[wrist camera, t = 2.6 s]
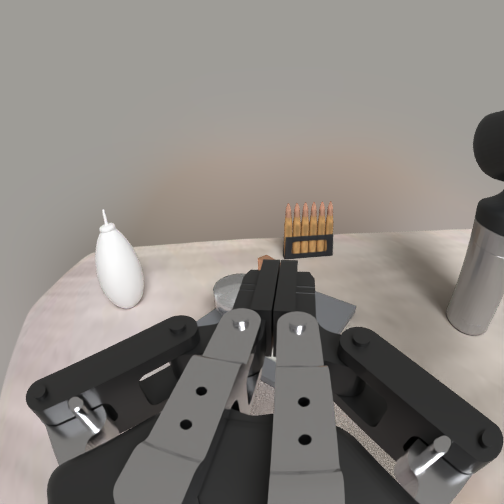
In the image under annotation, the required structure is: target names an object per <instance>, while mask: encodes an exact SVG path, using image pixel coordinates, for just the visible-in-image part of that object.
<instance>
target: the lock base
mask: <svg viewBox="0 0 504 504" xmlns="http://www.w3.org/2000/svg"><path fill="white" fill-rule="evenodd" d="M315 301H316V319H317V322H318V323H319V325H320V326H321V327H323V328H324V329H326V330H328V331H330V332H333V333H337V334H340V333H341V332H342V330H343V329H344V327H345V326H346V324H347V323H348V322H349V320H350V319H351V317H352V316H353V314H354V313H355V310H356V306H355V305H352V304H349V303H346V302H344V301H341V300H338V299H335V298H333V297H330V296H327V295H324V294H322V293H319V292H316V291H315ZM222 316H223V315H221V314H220V313H219V312H218V311H217V309H216V308H215V309H214V310H213V311H211V312H210V313H208V314H207V315H205V316H204V317H202V318H201V319H200V320H198V321H197V325H198V326H205V325H212V324H216V323H219V322H220V320H221V318H222ZM275 371H276V357H273V349H272V355H271V357H266V356H265V359H264V364H263V367H262V375H261V378H260V380H262V381H263V382H265V383H267V384H268V385H270V386H272V387H274V388H275Z"/></svg>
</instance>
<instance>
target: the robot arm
mask: <svg viewBox="0 0 504 504" xmlns="http://www.w3.org/2000/svg"><path fill="white" fill-rule="evenodd" d="M473 149H474V155H475V158H476V161H477V163H478V165H479V167H480V168H481V170H482V171H483V172H484V173H485V174H487V175H488V176H490V177H492V178H494V179H497V180H501V181H504V111H500V112H495V113H492V114H489V115H487V116H485V117H484V118H483V119H482V121H481V122H480V123H479V125H478V127H477V129H476V132H475V135H474V141H473ZM297 265H298V260H281V265H280V260H271V259H263V262H262V266H261V270H250V271H249V272H248V273H247V274H245V275H244V277H243V280H242V283H241V286H240V289H239V291H238V294H237V297H236V300H235V303H234V306H233V308H232V310H230V311H228V312H227V313H225V314H224V315H223V316H222V318H221V320H220V322H219V323H216V324H212V325H205V326H198V325H197V322H196V321H195V320H194V319H193V318H191V317H189V316H183V315H180V316H174V317H171V318H168V319H166V320H164V321H162V322H160V323H158V324H156V325H154V326H152V327H150V328H148V329H146V330H144V331H142V332H140V333H138V334H136V335H134V336H132V337H129V338H127V339H125V340H123V341H121V342H119V343H117V344H115V345H113V346H111V347H109V348H107V349H104V350H102V351H100V352H98V353H96V354H94V355H92V356H90V357H88V358H85V359H83V360H81V361H79V362H77V363H75V364H73V365H70V366H68V367H66V368H64V369H62V370H60V371H57V372H55V373H53V374H51V375H49V376H46V377H44V378H42V379H40V380H38V381H36V382H34V383H33V384H32V385H31V386H30V388H29V389H28V391H27V394H26V402H27V405H28V406H29V407H30V409H31V410H32V411H33V412H34V413H35V414H36V415H37V416H38V417H39V418H40V420H41V421H42V422H43V423H44V424H45V426H46V429H47V432H48V435H49V438H50V441H51V444H52V447H53V450H54V453H55V456H56V459H57V461H58V464H59V466H58V467H57V468H56V469H55V470H54V472H53V473H52V475H51V477H50V479H49V482H48V487H47V497H48V504H450V503H451V502H452V501H453V499H454V498H455V497H456V496H457V494H458V493H459V492H460V490H461V489H462V488H463V486H464V485H465V484H466V482H467V481H468V480H469V478H470V477H471V475H473V474H474V473H476V472H477V471H478V470H480V469H481V468H483V467H484V466H485V465H487V464H488V463H490V462H491V461H492V460H494V459H495V458H496V457H497V456H498V455H499V453H500V452H501V449H502V446H503V435H502V432H501V430H500V428H499V427H498V426H497V425H496V424H495V423H493V422H492V421H491V420H490V419H488V418H487V417H486V416H484V415H483V414H482V413H480V412H479V411H478V410H477V409H475V408H474V407H473V406H471V405H470V404H469V403H467V402H466V401H465V400H464V399H462V398H461V397H460V396H458V395H457V394H456V393H454V392H453V391H452V390H450V389H449V388H448V387H447V386H445V385H444V384H443V383H441V382H440V381H439V380H437V379H436V378H435V377H433V376H432V375H431V374H429V373H428V372H427V371H425V370H424V369H423V368H422V367H420V366H419V365H418V364H416V363H415V362H414V361H412V360H411V359H410V358H408V357H407V356H406V355H404V354H403V353H402V352H400V351H399V350H398V349H396V348H395V347H394V346H392V345H391V344H390V343H388V342H387V341H386V340H384V339H383V338H382V337H380V336H379V335H378V334H376V333H375V332H373V331H372V330H370V329H367V328H363V327H353V328H349V329H347V330H346V331H344V332H343V333H342V335H340V334H337V333H333V332H330V331H328V330H326V329H324V328H323V327H321V326H320V325H319V323H318V322H317V319H316V301H315V280H314V278H313V276H312V275H311V274H310V272H297ZM503 294H504V190H503V191H502V192H501V193H499V194H498V195H495V196H492V197H489V198H484V199H482V200H480V201H479V203H478V206H477V210H476V215H475V220H474V224H473V229H472V233H471V237H470V241H469V245H468V249H467V252H466V256H465V259H464V262H463V266H462V269H461V272H460V275H459V278H458V281H457V284H456V287H455V290H454V292H453V295H452V298H451V300H450V303H449V305H448V308H447V317H448V319H449V321H450V322H451V324H452V325H453V326H454V327H456V328H457V329H458V330H460V331H461V332H463V333H466V334H469V335H481V334H483V333H484V332H486V330H487V328H488V326H489V324H490V322H491V320H492V318H493V316H494V314H495V312H496V310H497V308H498V306H499V304H500V301H501V299H502V297H503ZM272 349H273V357H276V371H275V395H274V414H267V415H259V416H251V415H250V413H251V409H252V405H253V402H254V399H255V395H256V392H257V389H258V385H259V382H260V378H261V375H262V367H263V364H264V359H265V356H266V357H271V355H272ZM168 362H169V363H170V366H168V367H167V368H165V369H163V370H161V371H159V372H157V373H156V374H154V375H152V376H150V377H148V378H146V379H144V380H142V381H139V380H140V379H141V378H142V377H143V376H144V375H146V374H147V373H149V372H151V371H153V370H155V369H157V368H159V367H161V366H162V365H164V364H166V363H168ZM333 401H334V402H335V403H336V404H337V405H338V406H339V407H340V408H341V409H342V410H343V411H344V412H345V413H346V414H347V415H348V416H349V417H350V418H351V419H352V420H353V421H354V422H355V423H356V424H357V425H358V426H359V427H360V428H361V429H362V430H363V431H364V432H365V433H366V434H367V435H368V436H369V437H370V438H371V439H373V440H374V441H375V442H376V443H377V444H378V445H379V446H380V447H381V448H382V449H383V450H384V451H385V452H386V453H387V454H389V455H390V456H391V457H392V458H393V459H394V460H395V461H396V464H395V467H394V474H395V477H396V479H397V481H398V482H399V483H400V484H399V483H398V482H397V481H396V480H395V479H394V478H393V477H392V476H391V475H390V474H389V473H388V472H387V471H386V470H385V469H384V468H383V467H382V466H381V465H380V464H379V463H378V462H377V461H376V460H375V459H374V458H373V456H372V455H371V454H370V453H369V452H368V451H367V450H366V449H365V448H364V447H363V446H362V445H361V444H360V443H359V442H358V441H357V440H356V439H355V438H354V437H353V436H352V435H351V434H349V433H348V432H346V431H345V430H343V429H341V428H339V427H337V426H336V423H335V413H334V404H333ZM132 427H133V428H132ZM130 428H131V429H130ZM128 429H129V430H128ZM126 430H127V431H126ZM124 431H125V432H124ZM122 432H124V433H122ZM120 433H122V434H120ZM119 434H120V435H119Z"/></svg>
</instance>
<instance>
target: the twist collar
mask: <svg viewBox="0 0 504 504" xmlns="http://www.w3.org/2000/svg"><path fill="white" fill-rule="evenodd" d="M263 259H271V260H275V259H273V258H271V257H270V256H268V255H265V256H262V257H260V258H258V270H261V266H262V262H263ZM280 265H281V263H280ZM244 275H245V274H233V275H229V276H226V277H224V278H222V279H220V280H219V281H217V282H216V284H215V285H214V288H213V291H214V298H215V305H216V309H217V311H218V312H219V313H220V314H221V315H224V314H225V313H227V312H228V311H230V310H232V308H233V306H234V303H235V300H236V297H237V294H238V291H239V289H240V286H241V283H242V280H243V277H244Z"/></svg>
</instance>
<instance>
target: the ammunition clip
mask: <svg viewBox="0 0 504 504" xmlns="http://www.w3.org/2000/svg"><path fill="white" fill-rule="evenodd" d="M316 213H317V211H316V205H315V202H313V204H312V208H311V216H310V222H309V220H308V206H307V203H305V204H304V207H303V214H302V222H300V210H299V205H298V203H296V206H295V209H294V221H293V233H292V217H291V207H290V204H289V203H288V204H287V208H286V217H285V224H284V231H285V232H284V248H283V256H284V259H295V258H307V257H319V256H331V255H332V253H333V206H332V202H331V201H330V203H329V206H328V211H327V218H326V225H325V207H324V203H323V202H322V203H321V206H320V209H319V219H318V224H317V215H316ZM316 240H317V241H316ZM300 241H301V244H300ZM308 241H309V242H308Z"/></svg>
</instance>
